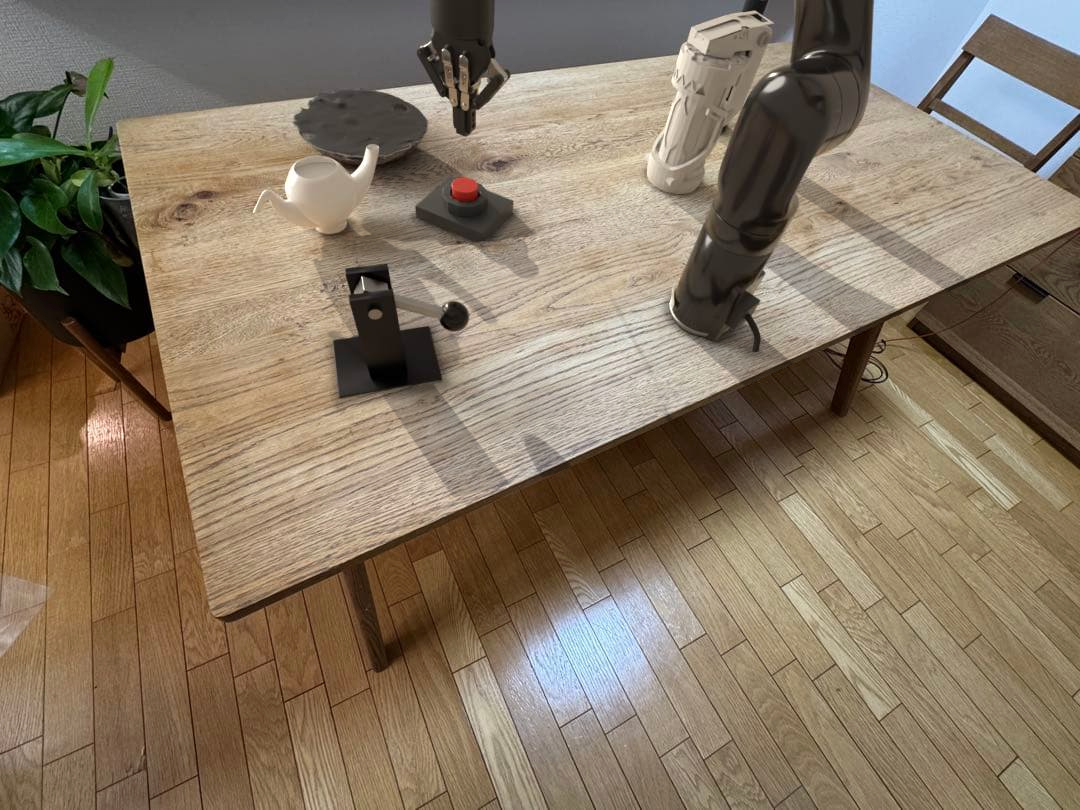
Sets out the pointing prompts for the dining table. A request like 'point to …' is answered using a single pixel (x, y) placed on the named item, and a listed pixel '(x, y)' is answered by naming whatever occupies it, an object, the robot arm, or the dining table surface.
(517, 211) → the dining table surface
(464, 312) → the lever
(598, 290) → the dining table surface
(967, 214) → the dining table surface
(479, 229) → the control block
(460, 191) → the button
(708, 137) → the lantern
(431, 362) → the bracket
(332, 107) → the board
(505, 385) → the dining table surface
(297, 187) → the teapot
